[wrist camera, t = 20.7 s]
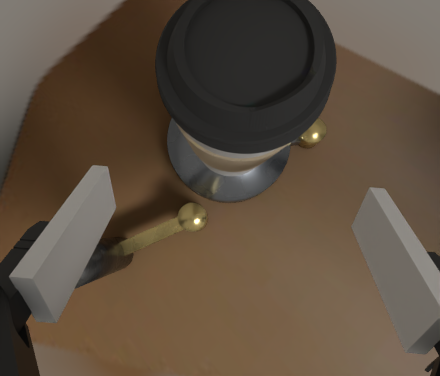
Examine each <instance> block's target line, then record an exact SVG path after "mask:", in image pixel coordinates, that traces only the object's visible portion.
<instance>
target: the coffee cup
mask: <svg viewBox="0 0 440 376" xmlns="http://www.w3.org/2000/svg"><path fill="white" fill-rule="evenodd" d="M155 69H156V77H157V84H158V89H159V92H160V95H161V98H162V101H163V103H164V105H165V107H166V109H167V111H168V112H169V114H170V115H171V117H172V118H173V119H174V121H175V122H176V124H177V125H178V127H179V129H180V130H181V132H182V134H183V135H184V137H185V138H186V140H187V142H188V143H189V145H190V146H191V148H192V150H193V151H194V153H195V154H196V155H197V156H198V157H199V158H200V159H201V160H202V162H203V163H204V164H205V165H206V166H207V167H208V168H209V169H210V170H212V171H213V172H215V173H218V174H220V175H224V176H239V175H243V174H246V173H248V172H250V171H252V170H253V169H255V168H256V167H257V166H259V165H261V164H262V163H264V162H265V161H266V160H268V159H269V158H271V157H272V156H273V155H275V154H276V153H277V152H279V151H280V150H281V149H283V148H284V147H285V146H287V145H288V144H289V143H290V142H292V141H294V140H295V139H297V138H298V137H299V136H301V135H302V134H303V133H304V132H306V131H307V130H308V129H309V128H310V127H311V126H312V125H313V123H314V122H315V121H316V120H317V118H318V117H319V115H320V114H321V112H322V110H323V109H324V107H325V104H326V102H327V100H328V97H329V93H330V89H331V87H332V84H333V81H334V77H335V71H336V48H335V43H334V39H333V36H332V33H331V31H330V28H329V27H328V25H327V23H326V21H325V19H324V18H323V16H322V15H321V14H320V12H319V11H318V10H317V9H316V7H315V6H314V5H313V4H312V3H311V2H309V1H308V0H188V1H186V2H185V3H184V4H183V5H182V6H181V7H180V8H179V9H178V10H177V11H176V12H175V13H174V14H173V16H172V17H171V18H170V20H169V21H168V23H167V25H166V26H165V28H164V30H163V32H162V35H161V37H160V40H159V43H158V47H157V52H156V60H155Z"/></svg>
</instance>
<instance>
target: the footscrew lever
mask: <svg viewBox="0 0 440 376" xmlns="http://www.w3.org/2000/svg"><path fill="white" fill-rule="evenodd" d="M207 222H208V215H207V213H206V211H205V210H204V208H203V207H202V206H201V205H199V204H197V203H188V204H185V205H184V206H183V207H182V208H181V209H180V210H179V213H178V217H176V218H174V219H171V220H169V221H167V222H165V223H162V224H160V225H158V226H156V227H153V228H151V229H149V230H147V231H145V232H142V233H140V234H138V235H136V236H133V237H131V238H129V239H127V240H126V239H124V238H120V237H116V238H104V239H100V240H99V242H98V244H97V246H96V248H95V250H94V252H93V254H92V256H91V258H90V259H89V261H88V263H87V265H86V267H85V269H84V271H83V273H82V275H81V277H80V279H79V281H78V283H77V285H76V287H75V288H78V287H80V286H82V285H85V284H87V283H90V282H92V281H94V280H97V279H99V278H102V277H104V276H106V275H109V274H111V273H114V272H116V271H118V270H121V269H123V268H125V267H127V266H128V265H129V264H130V262H131V261H132V258H133V252H135V251H138V250H140V249H142V248H144V247H147V246H149V245H151V244H153V243H155V242H158V241H160V240H162V239H164V238H167V237H169V236H171V235H173V234H175V233H178V232H180V231H182V230H184V229H185V230H187V231H199V230H202V229H203V228H204V227H205V226H206V225H207ZM75 288H74V289H75Z"/></svg>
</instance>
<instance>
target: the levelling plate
mask: <svg viewBox="0 0 440 376" xmlns="http://www.w3.org/2000/svg"><path fill="white" fill-rule="evenodd" d="M325 135H326V126H325V124H324V122H323V121H322V120H320V119H318V118H317V120H316V121H315V122H314V123H313V125H312V126H311V127H310V128H309V129H308V130H307V131H306V132H304V133H303V134H302V135H301V136H299V137H298V138H297V139H295V140H294V141H292V142H290V143H289V144H288V145H287V146H285V147H284V148H283V149H281V150H280V151H279V152H277V153H276V154H275V155H273V156H272V157H271V158H269V159H268V160H266V161H265V162H264V163H262V164H261V165H259V166H257V167H256V168H255V169H253V170H252V171H250V172H248V173H246V174H243V175H239V176H224V175H220V174H218V173H215V172H213V171H212V170H210V169H209V168H208V167H207V166H206V165H205V164H204V163H203V162H202V160H201V159H200V158H199V157H198V156H197V155H196V154H195V153H194V151H193V150H192V148H191V146H190V145H189V143H188V142H187V140H186V138H185V137H184V135H183V134H182V132H181V130H180V129H179V127H178V125H177V124H176V122H175V121H174V119H173V118H172V119H171V122H170V125H169V129H168V136H167V147H168V153H169V157H170V160H171V163H172V165H173V167H174V169H175V171H176V172H177V174H178V175H179V177H180V178H181V179H182V181H183V182H184V183H185V184H186V185H187V186H188V187H189V188H190V189H191V190H192V191H194V192H195V193H197V194H198V195H200V196H202V197H204V198H206V199H209V200H212V201H216V202H223V203H235V202H241V201H245V200H248V199H251V198H253V197H255V196H257V195H259V194H260V193H262V192H263V191H264V190H266V189H267V188H268V187H269V186H270V185H272V184H273V183H274V182H275V180H276V179H277V178H278V177H279V176H280V174H281V173H282V171H283V169H284V167H285V165H286V163H287V160H288V157H289V152H290V145H299V146H301V147H303V148H312V147H314V146H315V145H316V144H317V143H318V142H320V141H321V140H322V139H323V138H324V137H325Z"/></svg>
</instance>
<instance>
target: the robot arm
mask: <svg viewBox="0 0 440 376" xmlns="http://www.w3.org/2000/svg"><path fill="white" fill-rule="evenodd" d="M115 209H116V204H115V199H114V195H113V190H112V185H111V180H110V175H109V170H108V166H96V165H92V167H91V168H90V169H89V171H88V172H87V173H86V175H85V176H84V177H83V179H82V180H81V181H80V183H79V184H78V185H77V187H76V188H75V189H74V191H73V192H72V193H71V194H70V196H69V197H68V198H67V200H66V201H65V202H64V204H63V205H62V206H61V208H60V209H59V210H58V212H57V213H56V214H55V216H54V217H53V218H52V220H51V221H50V222H47V221H39V222H38V223H36V224H35V225H33V226H32V227H30V228H29V229H28V230H27V231H26V232H25V234H24V235H23V236H22V237H21V238H20V241H18V242H17V243H16V245H15V246H14V248H13V249H11V251H10V252H9V253H8V254H7V256H6V257H5V258H4V259H3V261H2V262H1V263H0V376H40V374H39V370H38V366H37V362H36V358H35V353H34V349H33V345H32V341H31V337H30V333H29V329H28V326H27V324H26V321H27V320H28V318H29V316H30V315H31V313H32V315H33V317H34V318H35V320H36V321H38V322H50V323H57V321H58V319H59V317H60V315H61V314H62V312H63V310H64V308H65V306H66V304H67V302H68V300H69V298H70V296H71V294H72V292H73V290H74V288H75V287H76V285H77V283H78V281H79V279H80V277H81V275H82V273H83V271H84V269H85V267H86V265H87V263H88V261H89V259H90V258H91V256H92V254H93V252H94V250H95V248H96V246H97V244H98V242H99V240H100V238H101V236H102V234H103V232H104V231H105V229H106V227H107V225H108V223H109V221H110V219H111V217H112V215H113V213H114V211H115ZM351 228H352V230H353V232H354V235H355V237H356V239H357V242H358V244H359V246H360V249H361V251H362V253H363V256H364V258H365V260H366V263H367V265H368V267H369V269H370V272H371V274H372V276H373V279H374V281H375V283H376V286H377V288H378V290H379V293H380V295H381V297H382V300H383V302H384V304H385V307H386V309H387V311H388V314H389V316H390V318H391V321H392V323H393V325H394V328H395V330H396V332H397V334H398V337H399V339H400V341H401V344H402V346H403V348H404V351H405V353H417V354H427V353H428V352H429V351H430V350H431V349H432V348H433V347H435V349H436V351H437V353H438V355H439V357H437V358H436V359H435V360H434V361H433V362H432V363H431V364H429V365H428V366H427V368H426V369H425V371H427V372H429V371H430V370H431V369H432V372H431V375H430V376H440V256H438V255H437V254H436V253H435V252H426V250H425V249H424V247H423V246H422V244H421V243H420V241H419V240H418V238H417V237H416V235H415V234H414V232H413V231H412V229H411V227H410V226H409V224H408V223H407V221H406V220H405V218H404V217H403V215H402V214H401V212H400V211H399V209H398V208H397V206H396V205H395V203H394V202H393V200H392V199H391V197H390V196H389V194H388V193H387V191H386V190H385V189H384V188H372V187H369V189H368V192H367V194H366V196H365V198H364V200H363V202H362V205H361V207H360V209H359V211H358V213H357V215H356V218H355V220H354V222H353V224H352V226H351Z"/></svg>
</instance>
